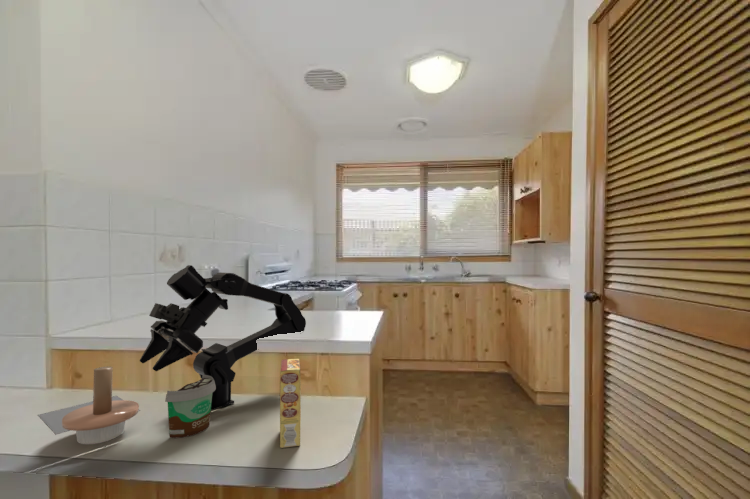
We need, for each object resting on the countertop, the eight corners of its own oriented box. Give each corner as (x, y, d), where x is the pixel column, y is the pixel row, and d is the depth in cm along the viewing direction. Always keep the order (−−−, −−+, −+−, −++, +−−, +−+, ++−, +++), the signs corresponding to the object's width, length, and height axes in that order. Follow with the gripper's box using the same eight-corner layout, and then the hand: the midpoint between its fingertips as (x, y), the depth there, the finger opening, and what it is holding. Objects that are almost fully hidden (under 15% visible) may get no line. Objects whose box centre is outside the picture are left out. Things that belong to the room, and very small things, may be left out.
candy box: (300, 446, 74) (301, 369, 75) (278, 449, 73) (279, 370, 74) (299, 427, 83) (300, 357, 83) (280, 429, 82) (280, 359, 82)
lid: (97, 403, 85) (99, 359, 85) (152, 405, 84) (153, 361, 85) (43, 429, 72) (45, 377, 73) (107, 431, 71) (108, 379, 72)
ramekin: (116, 424, 84) (117, 405, 84) (134, 435, 79) (134, 414, 79) (67, 439, 77) (68, 418, 77) (83, 452, 72) (84, 429, 72)
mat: (116, 397, 101) (116, 395, 101) (140, 411, 91) (140, 410, 91) (37, 416, 88) (37, 414, 88) (55, 436, 78) (55, 434, 78)
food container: (190, 444, 75) (191, 393, 75) (164, 441, 76) (165, 391, 77) (226, 418, 87) (227, 375, 88) (203, 416, 88) (204, 374, 89)
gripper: (160, 288, 95) (107, 338, 87) (189, 293, 82) (130, 352, 74) (192, 316, 101) (145, 365, 92) (223, 324, 88) (172, 382, 80)
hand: (147, 366), depth 84 cm, fingers open, 9 cm apart
